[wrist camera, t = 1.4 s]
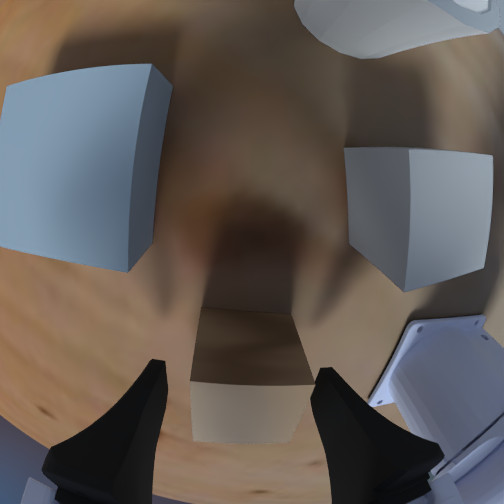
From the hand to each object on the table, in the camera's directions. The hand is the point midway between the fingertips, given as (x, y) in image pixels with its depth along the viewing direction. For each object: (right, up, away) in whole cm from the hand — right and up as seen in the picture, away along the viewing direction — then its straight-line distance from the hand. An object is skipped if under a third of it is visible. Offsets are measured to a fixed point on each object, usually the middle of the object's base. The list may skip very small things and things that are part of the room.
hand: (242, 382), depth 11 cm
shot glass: (+5, +18, -3) cm, 19 cm away
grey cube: (+7, +9, 0) cm, 11 cm away
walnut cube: (0, +1, +3) cm, 3 cm away
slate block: (-7, +10, -1) cm, 12 cm away
